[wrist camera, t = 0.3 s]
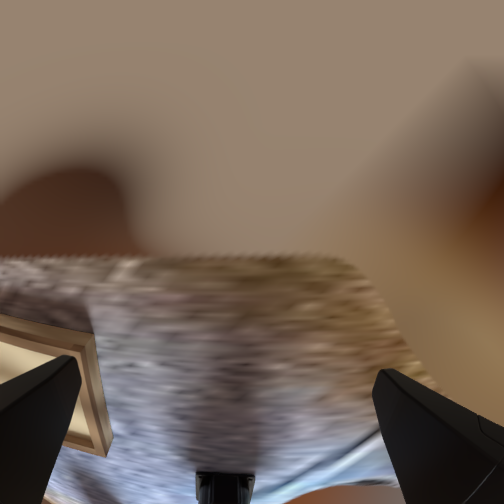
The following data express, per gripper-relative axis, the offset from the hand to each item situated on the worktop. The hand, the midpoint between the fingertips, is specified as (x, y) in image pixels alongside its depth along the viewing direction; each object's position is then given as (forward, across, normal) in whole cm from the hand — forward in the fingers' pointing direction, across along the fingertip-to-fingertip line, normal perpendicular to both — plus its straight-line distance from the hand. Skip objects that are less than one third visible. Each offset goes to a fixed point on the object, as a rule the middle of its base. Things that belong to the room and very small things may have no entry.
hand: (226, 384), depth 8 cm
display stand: (+14, +18, +14) cm, 27 cm away
